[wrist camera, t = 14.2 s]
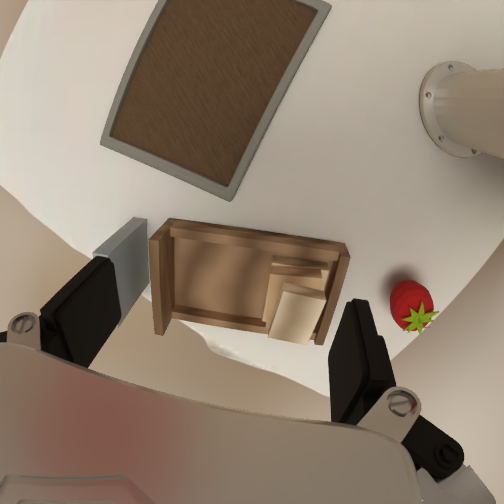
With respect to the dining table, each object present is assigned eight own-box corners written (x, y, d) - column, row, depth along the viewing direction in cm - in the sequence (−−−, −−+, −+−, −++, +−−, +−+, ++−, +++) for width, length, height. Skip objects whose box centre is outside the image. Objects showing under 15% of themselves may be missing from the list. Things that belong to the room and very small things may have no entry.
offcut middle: (320, 269, 37) (322, 278, 35) (311, 321, 40) (312, 331, 38) (271, 265, 37) (270, 274, 35) (266, 317, 41) (265, 328, 39)
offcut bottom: (326, 262, 39) (329, 271, 37) (312, 318, 43) (312, 327, 41) (272, 254, 39) (272, 262, 37) (263, 311, 43) (262, 321, 41)
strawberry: (408, 255, 39) (437, 295, 30) (424, 293, 41) (449, 335, 32) (372, 276, 40) (392, 320, 32) (391, 312, 43) (410, 357, 34)
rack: (344, 243, 39) (355, 269, 33) (320, 327, 45) (324, 360, 39) (169, 218, 40) (148, 239, 33) (170, 304, 46) (154, 333, 40)
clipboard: (98, 144, 35) (194, -57, 22) (104, 143, 36) (197, -52, 23) (230, 203, 37) (341, -11, 24) (232, 199, 38) (339, -6, 25)
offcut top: (324, 291, 36) (326, 300, 34) (306, 334, 39) (306, 345, 37) (283, 281, 36) (283, 291, 34) (268, 326, 39) (267, 337, 37)
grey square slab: (146, 219, 40) (107, 255, 30) (149, 281, 44) (118, 327, 35) (133, 217, 40) (92, 252, 30) (137, 279, 44) (104, 324, 35)
